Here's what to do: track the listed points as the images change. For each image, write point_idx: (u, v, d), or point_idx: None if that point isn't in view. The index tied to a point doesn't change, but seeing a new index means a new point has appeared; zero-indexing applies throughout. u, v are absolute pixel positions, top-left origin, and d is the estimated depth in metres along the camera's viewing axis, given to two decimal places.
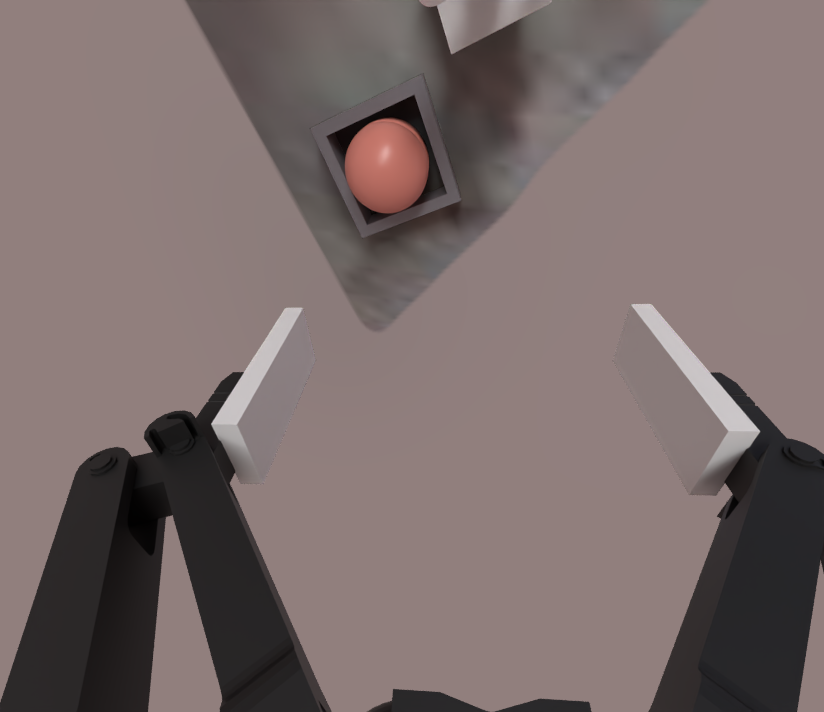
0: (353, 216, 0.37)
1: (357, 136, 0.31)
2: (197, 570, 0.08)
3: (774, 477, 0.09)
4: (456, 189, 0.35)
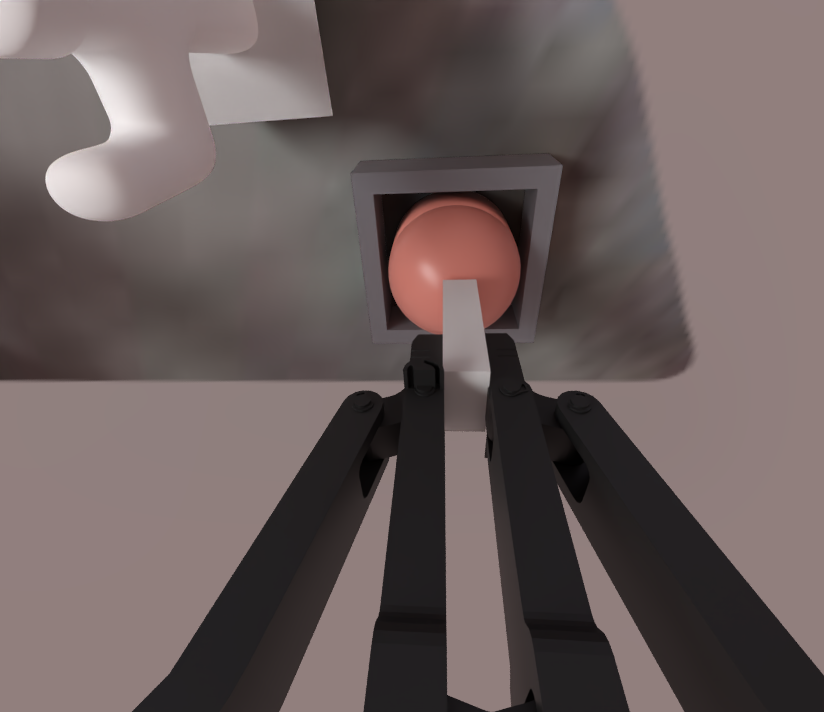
0: None
1: (394, 298, 0.21)
2: (399, 498, 0.09)
3: (504, 415, 0.11)
4: (539, 168, 0.19)
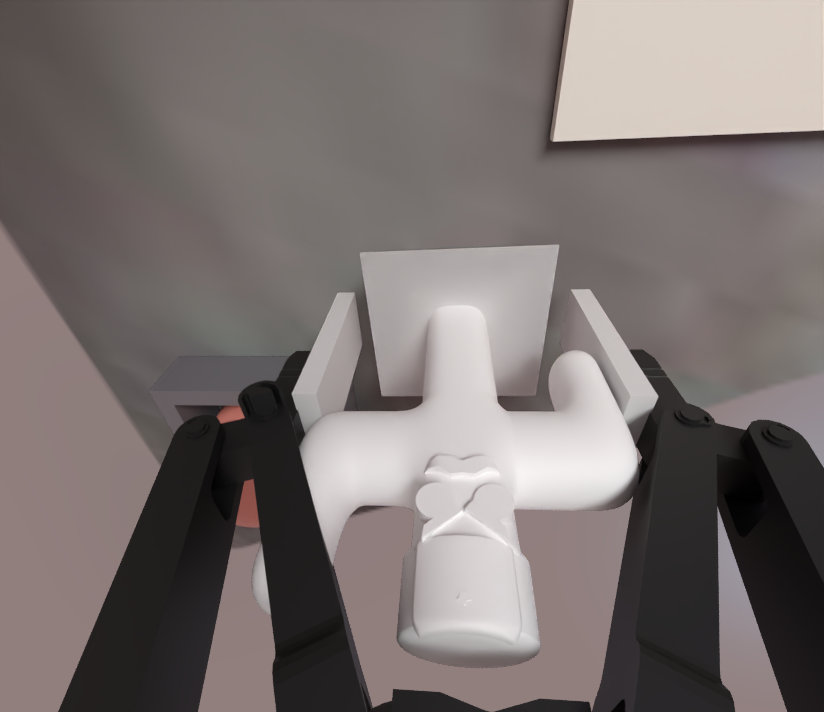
0: None
1: None
2: (267, 530, 0.09)
3: (672, 440, 0.10)
4: None
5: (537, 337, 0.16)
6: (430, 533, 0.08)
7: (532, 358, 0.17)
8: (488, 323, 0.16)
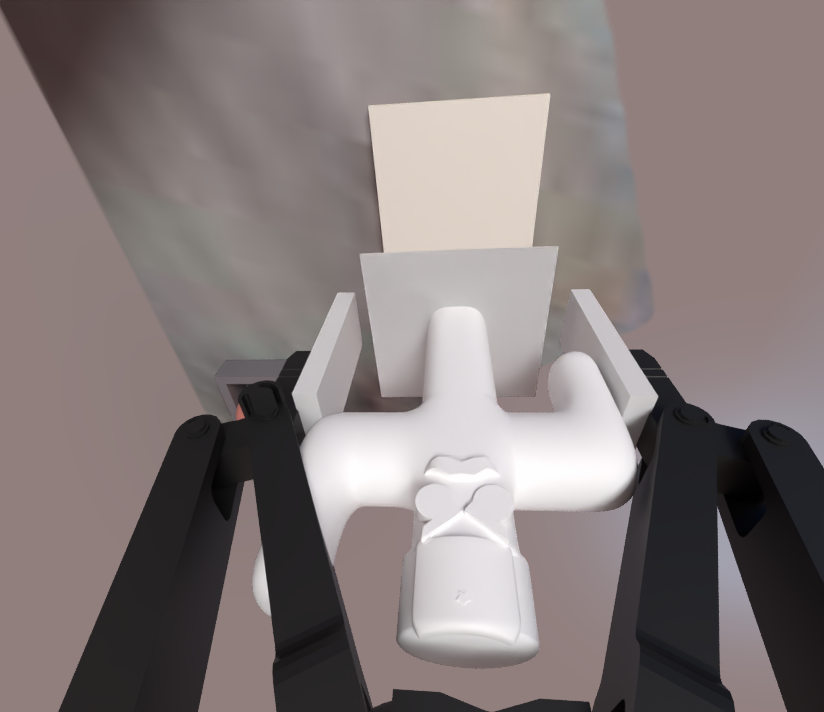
0: None
1: None
2: (268, 530, 0.09)
3: (671, 440, 0.10)
4: None
5: (537, 338, 0.17)
6: (430, 534, 0.08)
7: (532, 359, 0.17)
8: (488, 324, 0.16)
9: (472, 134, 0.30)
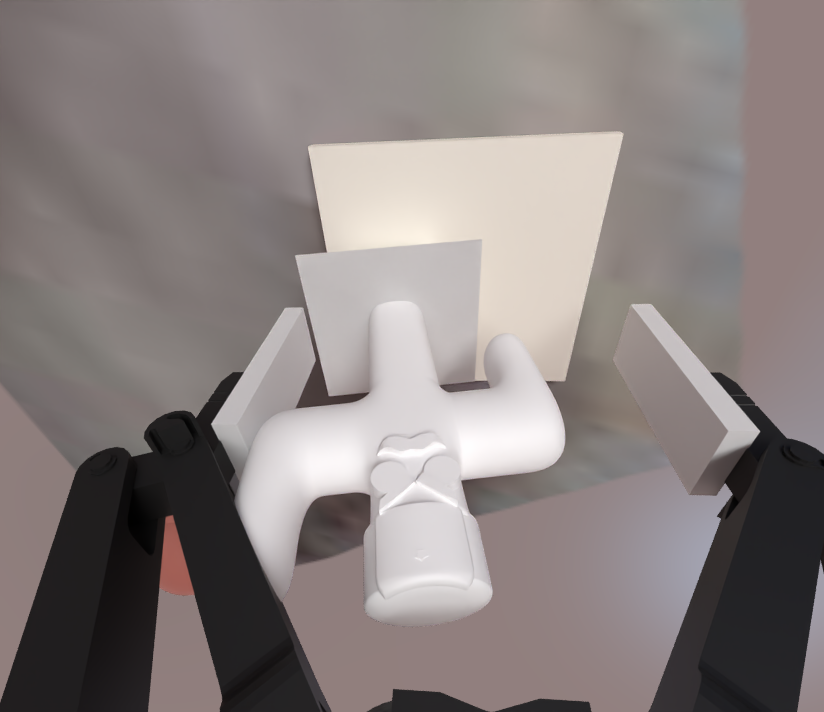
0: None
1: None
2: (197, 570, 0.08)
3: (774, 477, 0.09)
4: None
5: (471, 326, 0.18)
6: (387, 506, 0.09)
7: (468, 346, 0.18)
8: (425, 316, 0.17)
9: (485, 194, 0.18)
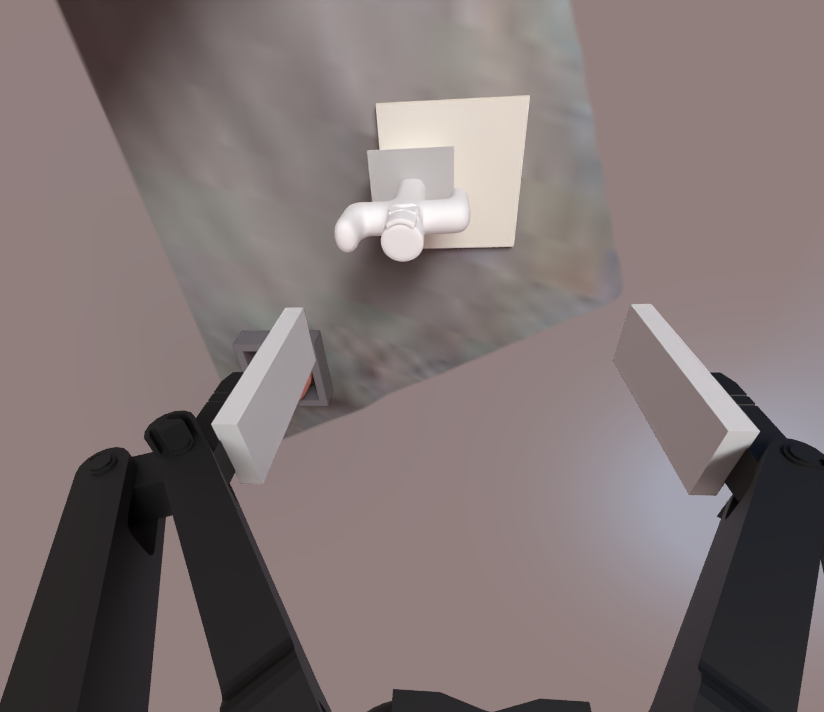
0: None
1: None
2: (197, 570, 0.08)
3: (774, 477, 0.09)
4: (326, 400, 0.52)
5: None
6: (391, 213, 0.26)
7: None
8: (427, 188, 0.34)
9: (464, 129, 0.35)
